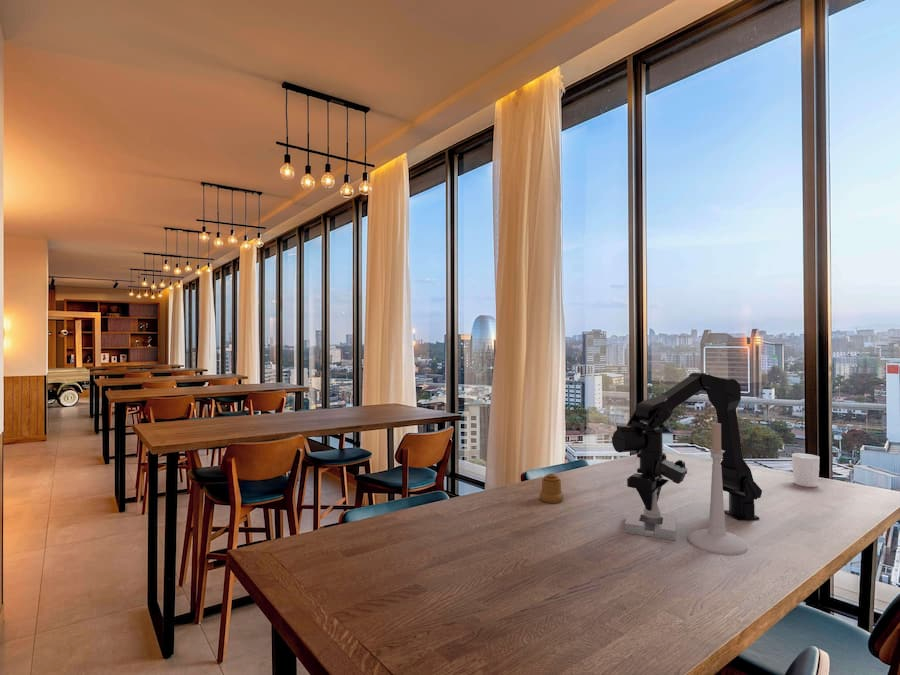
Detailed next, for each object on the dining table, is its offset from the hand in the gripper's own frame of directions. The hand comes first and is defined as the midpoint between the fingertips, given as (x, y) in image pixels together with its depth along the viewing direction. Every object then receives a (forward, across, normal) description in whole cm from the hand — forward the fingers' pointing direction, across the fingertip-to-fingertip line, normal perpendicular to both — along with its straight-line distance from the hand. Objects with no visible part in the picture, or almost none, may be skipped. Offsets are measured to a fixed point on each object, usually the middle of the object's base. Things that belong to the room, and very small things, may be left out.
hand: (651, 508), depth 130 cm
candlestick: (+6, +1, -16) cm, 16 cm away
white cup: (+6, +76, -27) cm, 81 cm away
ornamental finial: (+6, +3, +32) cm, 33 cm away
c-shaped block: (+5, 0, 0) cm, 5 cm away
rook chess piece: (+2, 0, 0) cm, 2 cm away
